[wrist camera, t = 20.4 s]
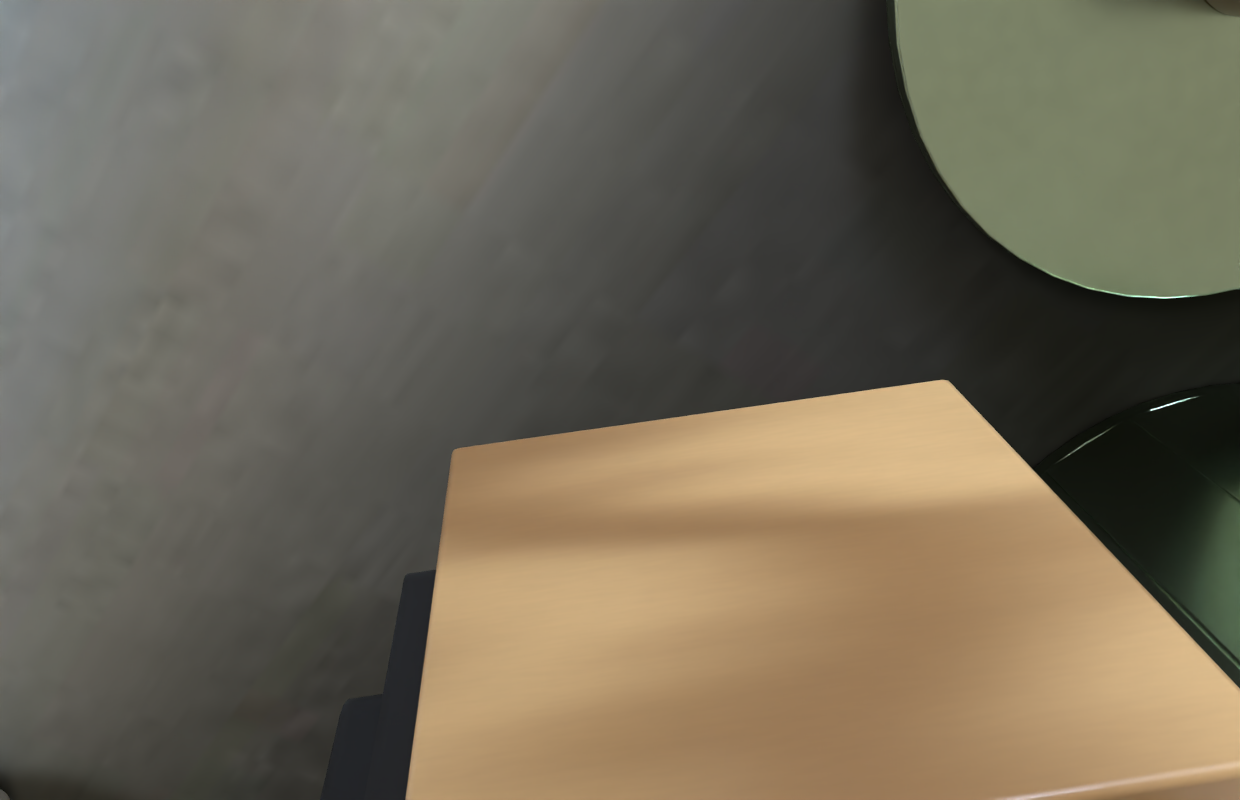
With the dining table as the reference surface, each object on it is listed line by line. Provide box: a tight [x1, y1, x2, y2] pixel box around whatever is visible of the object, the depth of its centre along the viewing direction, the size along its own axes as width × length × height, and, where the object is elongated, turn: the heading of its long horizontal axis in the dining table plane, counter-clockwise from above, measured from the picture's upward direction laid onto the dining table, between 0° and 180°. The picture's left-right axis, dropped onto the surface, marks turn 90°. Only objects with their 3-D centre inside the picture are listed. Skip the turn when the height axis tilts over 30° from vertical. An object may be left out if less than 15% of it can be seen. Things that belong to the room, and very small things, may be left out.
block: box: [405, 380, 1240, 800], centre depth 9 cm, size 6×6×6 cm
